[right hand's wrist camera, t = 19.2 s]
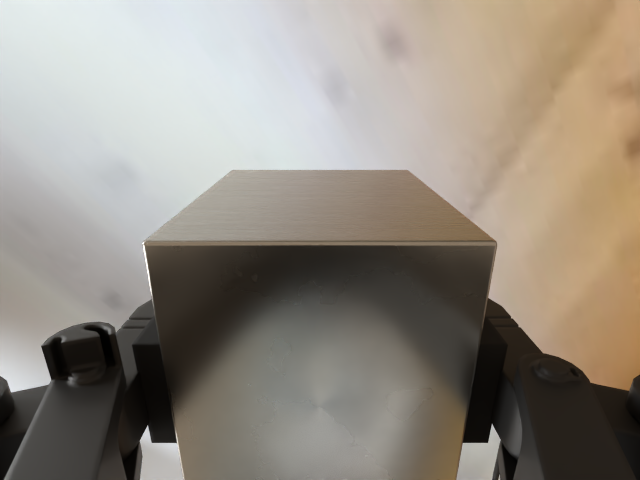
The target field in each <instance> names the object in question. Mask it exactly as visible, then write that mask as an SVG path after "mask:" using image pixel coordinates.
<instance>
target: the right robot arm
mask: <svg viewBox="0 0 640 480" xmlns="http://www.w3.org/2000/svg"><path fill="white" fill-rule="evenodd" d="M41 347H42V350H43V354H44V357H45V360H46V363H47V367H48V370H49V373H50V376H51V382H50V384H49V385H46V386H41V387H37V388H32V389H27V390H22V391H17V392H12V393H11V392H10V389H9V386H8V383H7V381H6V380H5V379H4V378H2V377H1V376H0V480H140V473H141V464H142V450H141V445H140V439H141V437H142V435H143V433H144V431H145V429H146V427H147V425H148V426H149V431H150V436H151V441H152V443H177V439H176V434H175V428H174V422H173V417H172V411H171V405H170V400H169V394H168V388H167V382H166V377H165V371H164V365H163V360H162V354H161V348H160V342H159V337H158V331H157V325H156V320H155V314H154V308H153V302H152V299H151V300H150V301H148V302H147V303H145V304H143V305H142V306H140V307H138V308H137V310H136V311H135V312H134V313H133V314H132V315H131V316H130V318H129V320H127V321H126V322H125V323H124V324H123V326H122V328H121V329H119V330H118V331H117V332H115V328H114V327H113V326H112V325H110V324H109V323H103V322H89V323H83V324H79V325H75V326H72V327H69V328H67V329H64V330H62V331H59V332H58V333H56V334H54V335H53V336H51V337H50V338H48V339H47V340H46V341H45V342H44V344H43V345H42V346H41ZM492 424H493V426H494V428H495V430H496V432H497V433H498V435H499V437H500V439H501V441H500V445H499V450H498V454H497V459H496V463H495V468H494V472H493V479H492V480H498V478H499V474H500V480H640V375H639V376H637V377H636V378H634V379H633V382H632V385H631V388H630V390H629V391H626V390H621V389H616V388H612V387H607V386H602V385H597V384H593V383H590V381H589V379H588V378H587V377H586V375H585V374H584V373H583V371H581V370H580V369H579V368H577V367H576V366H575V365H573V364H572V363H570V362H568V361H566V360H564V359H561V358H559V357H556V356H552V355H549V354H543V353H542V352H541V350H540V349H539V348H538V347H537V346H536V345H535V344H534V342H533V341H532V340H531V339H530V338H529V337H528V336H527V334H526V333H525V332H524V331H523V330H522V329H521V328H520V327H518V324H517V323H516V322H515V321H514V320H513V319H511V316H510V315H509V314H508V313H507V312H506V311H505V309H504V308H503V307H502V306H500V305H499V304H497V303H495V302H494V301H492V300H491V299H489V298H488V300H487V306H486V312H485V317H484V323H483V329H482V334H481V340H480V346H479V352H478V357H477V363H476V369H475V375H474V380H473V386H472V392H471V397H470V403H469V409H468V415H467V420H466V426H465V432H464V438H463V443H488V440H489V435H490V430H491V425H492Z"/></svg>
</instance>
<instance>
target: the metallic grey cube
mask: <svg viewBox="0 0 640 480" xmlns="http://www.w3.org/2000/svg"><path fill="white" fill-rule="evenodd" d="M496 249H497V242H496V241H495V240H494V239H493V238H491V237H490V236H489V235H488V234H486V233H485V232H484V231H483V230H481V229H480V228H479V227H478V226H476V225H475V224H474V223H473V222H471V221H470V220H469V219H468V218H466V217H465V216H464V215H463V214H462V213H460V212H459V211H458V210H457V209H455V208H454V207H453V206H452V205H450V204H449V203H448V202H447V201H445V200H444V199H443V198H442V197H440V196H439V195H438V194H437V193H435V192H434V191H433V190H432V189H430V188H429V187H428V186H427V185H426V184H424V183H423V182H422V181H421V180H419V179H418V178H417V177H416V176H414V175H413V174H412V173H411V172H409V171H408V170H232V171H230V172H229V173H228V174H227V175H225V176H224V177H223V178H222V179H220V180H219V181H218V182H217V183H215V184H214V185H213V186H212V187H210V188H209V189H208V190H207V191H206V192H204V193H203V194H202V195H201V196H199V197H198V198H197V199H196V200H194V201H193V202H192V203H191V204H189V205H188V206H187V207H186V208H184V209H183V210H182V211H181V212H179V213H178V214H177V215H176V216H174V217H173V218H172V219H171V220H169V221H168V222H167V223H166V224H164V225H163V226H162V227H161V228H159V229H158V230H157V231H156V232H155V233H153V234H152V235H151V236H150V237H148V238H147V239H146V240H145V241H143V251H144V257H145V262H146V268H147V274H148V280H149V285H150V291H151V297H152V302H153V308H154V314H155V320H156V325H157V331H158V337H159V342H160V348H161V354H162V360H163V365H164V371H165V377H166V382H167V388H168V394H169V400H170V405H171V411H172V417H173V422H174V428H175V434H176V439H177V445H178V451H179V457H180V462H181V468H182V474H183V479H184V480H456V478H457V472H458V466H459V460H460V455H461V449H462V443H463V438H464V432H465V426H466V420H467V415H468V409H469V403H470V397H471V392H472V386H473V380H474V375H475V369H476V363H477V357H478V352H479V346H480V340H481V334H482V329H483V323H484V317H485V312H486V306H487V300H488V294H489V289H490V283H491V277H492V272H493V266H494V260H495V254H496Z"/></svg>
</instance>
